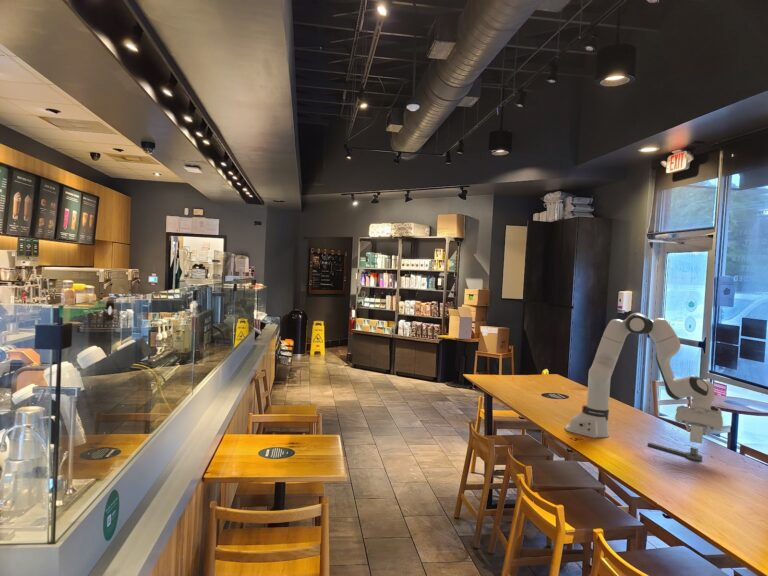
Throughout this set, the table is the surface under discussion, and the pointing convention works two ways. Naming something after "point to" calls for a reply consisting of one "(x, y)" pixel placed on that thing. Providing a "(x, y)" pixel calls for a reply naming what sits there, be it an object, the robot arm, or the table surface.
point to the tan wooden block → (696, 433)
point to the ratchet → (680, 452)
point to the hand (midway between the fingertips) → (696, 432)
